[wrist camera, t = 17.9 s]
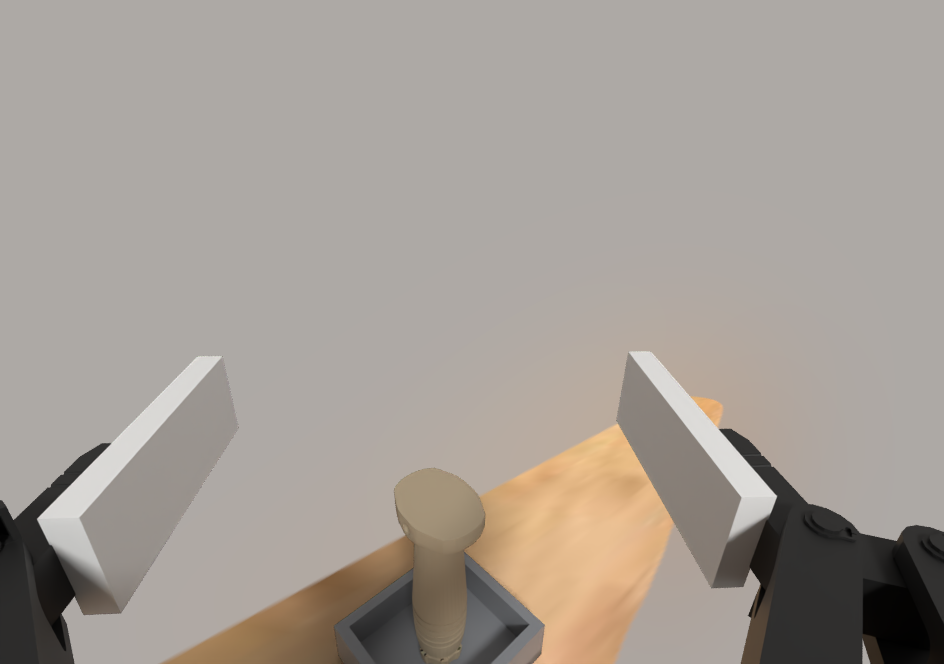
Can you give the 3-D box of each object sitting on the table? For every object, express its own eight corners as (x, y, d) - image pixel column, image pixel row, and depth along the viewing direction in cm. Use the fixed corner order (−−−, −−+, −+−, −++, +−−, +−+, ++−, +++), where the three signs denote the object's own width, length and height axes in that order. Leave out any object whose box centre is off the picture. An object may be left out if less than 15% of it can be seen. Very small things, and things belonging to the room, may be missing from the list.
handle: (439, 708, 33) (437, 553, 27) (391, 636, 38) (379, 489, 31) (491, 662, 36) (500, 512, 30) (441, 600, 40) (439, 459, 34)
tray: (423, 783, 30) (422, 753, 29) (338, 655, 37) (333, 625, 36) (541, 654, 37) (544, 624, 36) (451, 567, 44) (451, 540, 43)
